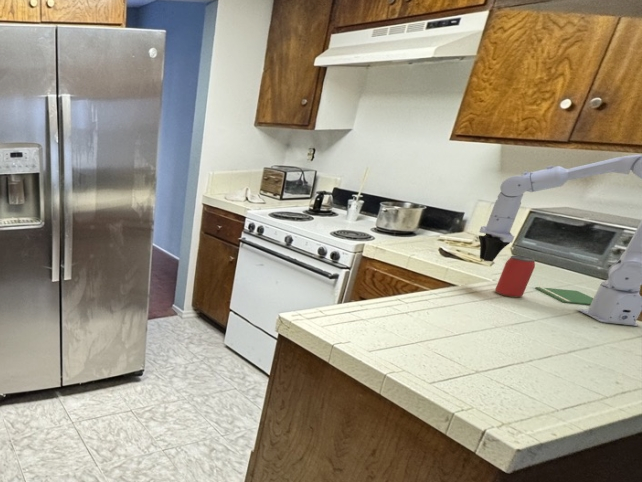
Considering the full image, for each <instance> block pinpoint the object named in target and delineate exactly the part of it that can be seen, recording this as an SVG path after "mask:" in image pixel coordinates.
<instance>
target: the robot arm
mask: <svg viewBox="0 0 642 482" xmlns="http://www.w3.org/2000/svg"><path fill="white" fill-rule="evenodd" d="M630 172H632V173H633V174H634V175H635V176H636V177H637V178H639V179H641V180H642V154H631V155H624V156H617V157H612V158H609V159H605V160H601V161H596V162H592V163H588V164H585V165H584V164H583V165H579V166H574V167H570V168H565V167H562V166H561V165H558V166H554V165H553V164H552V165H549V166H548V165H547V166H546V168H544V169H539V170H535V171H530V172H528V171H524V172H522V175H516V174H515V175H511V176H509V177H507V178H506V179H504V180H503V181H502V182H501V184H500V192H499V193H498V195H497V199H496V200H495V201H494V204H493V207H492V210H491V212H490V215H489V218H488V220H487V224H486V225H484V226H482V225H481V226H480V228H479V231H478V232H479V233H480V234H481V233H482V234H484V235H478V240H479V246H480V247H479V259H480V260H483V261H484V262H492V263H493V262H494V260H495V259H496V258H497V256H498V255H499V254H500V253H501V252H502V250H504V249H505V248H506V247H507V246H508V245H510V244H511V243H513V241H514V239H515V235H513V234H512V233H511V230H512V227H513V225H514V222H515V220H516V217H517V215H518V213H519V210H520V207H521V204H522V199H523V196H524V194H525V192H529V193H535V192H540V191H545V190H550V189H555V188H556V189H557V188H559V187H560V188H561V187H563V186H564V185H565V184H566V183H567V182H568V181H572V180H577V179H582V178H587V177H592V176H599V175H603V174H610V173H616V174H622V175H630ZM626 246H627V247H626V248H625V250H624V251H623V252H622V254H621V255H620V257H619V259H618V260H617V261H616V262H615V263H613V264H611V265H610V266H609V268H608V269H607V276H608V278H607V279H606V280H604V281H601V282H600V284H599V286H598V288H597V290H596V292H595V295H594V297H593V298H594V299H593V301H592V303H591V305H589V307H588V309H584V308H578V311H579V312H580V313H582V314H585V315H586V316H588V317H591V318H593V319H594V320H596V321H598V322H600V323H607V324H617V325H625V326H635V327H638V326H639V324H638V323H637V320H638V318H639V317H640V315H641V313H642V295H641V294H640V291H641V286H642V219H641V220H640V222H639V224H638V226H637V228H636V229H635V231H634V233H633V235H632V236H631V239H630V241H629V243H628V245H626Z"/></svg>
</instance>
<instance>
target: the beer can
mask: <svg viewBox="0 0 642 482" xmlns="http://www.w3.org/2000/svg"><path fill="white" fill-rule="evenodd" d="M535 267H536V259H535V258H533V257H530V256H525V255H510V258H509V259H508V260H506V262H505V264H504V267H503V269H502V272H501V274H500V276H499V279H498V281H497V284H496V286H495V289H494V292H495V293H496V294H498V295H501V296H504V297H507V298H508V297H509V298H521V297H523V295H524V294H525V291H526V289H527V286H528V285H529V282H530V279H531V277H532V274H533V272H534V270H535Z"/></svg>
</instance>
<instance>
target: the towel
mask: <svg viewBox="0 0 642 482" xmlns="http://www.w3.org/2000/svg"><path fill="white" fill-rule="evenodd" d="M535 289H536V290H538V291H539V292H542V293H544V294H546V295H548V296H549V297H551V298H553V299H556V300H557V301H559V302H561V303H564V304H573V305H574V304H575V305H583V306H590V305H591V303H592V301H593V299H594V297H592V296H589V295H587V294H586V293H583V292H581V291H579V290H573V289H561V288H552V287H543V286H535Z"/></svg>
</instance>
